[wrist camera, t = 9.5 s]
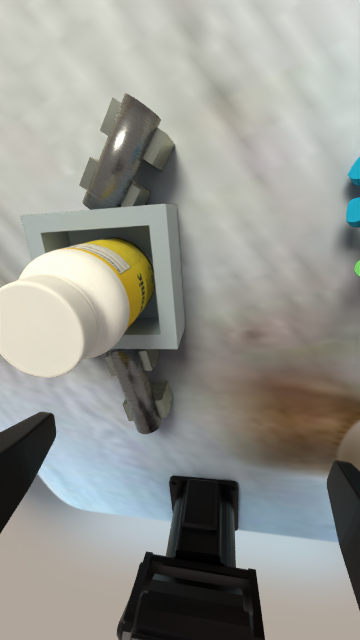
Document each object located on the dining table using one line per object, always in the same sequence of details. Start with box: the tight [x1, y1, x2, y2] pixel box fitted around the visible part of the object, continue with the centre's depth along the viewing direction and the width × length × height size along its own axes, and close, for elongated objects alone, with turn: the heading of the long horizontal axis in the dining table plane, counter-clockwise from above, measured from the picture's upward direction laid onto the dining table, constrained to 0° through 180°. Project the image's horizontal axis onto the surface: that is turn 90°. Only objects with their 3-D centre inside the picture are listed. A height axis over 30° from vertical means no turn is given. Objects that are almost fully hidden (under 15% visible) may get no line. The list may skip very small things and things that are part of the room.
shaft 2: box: [105, 349, 173, 434], centre depth 21 cm, size 7×3×4 cm, turn 14°
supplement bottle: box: [0, 237, 156, 378], centre depth 15 cm, size 5×5×10 cm
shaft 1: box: [80, 94, 175, 210], centre depth 16 cm, size 6×3×4 cm, turn 149°
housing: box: [20, 204, 185, 349], centre depth 18 cm, size 8×8×4 cm
